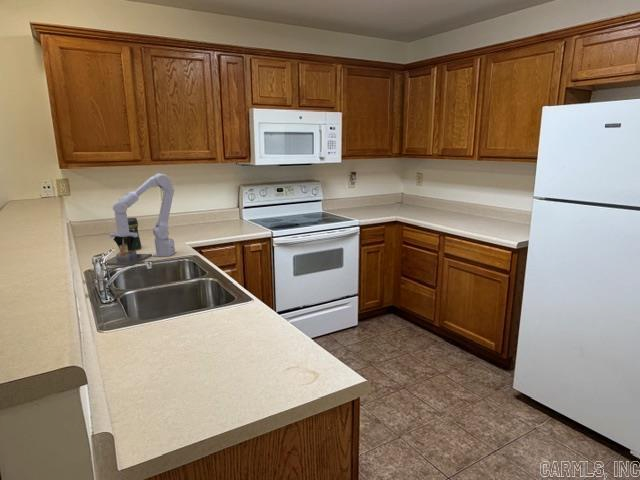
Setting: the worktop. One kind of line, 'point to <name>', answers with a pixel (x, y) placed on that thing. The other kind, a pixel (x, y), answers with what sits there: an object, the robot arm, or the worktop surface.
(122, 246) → the column
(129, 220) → the coffee jar
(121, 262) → the jack base
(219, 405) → the worktop surface
